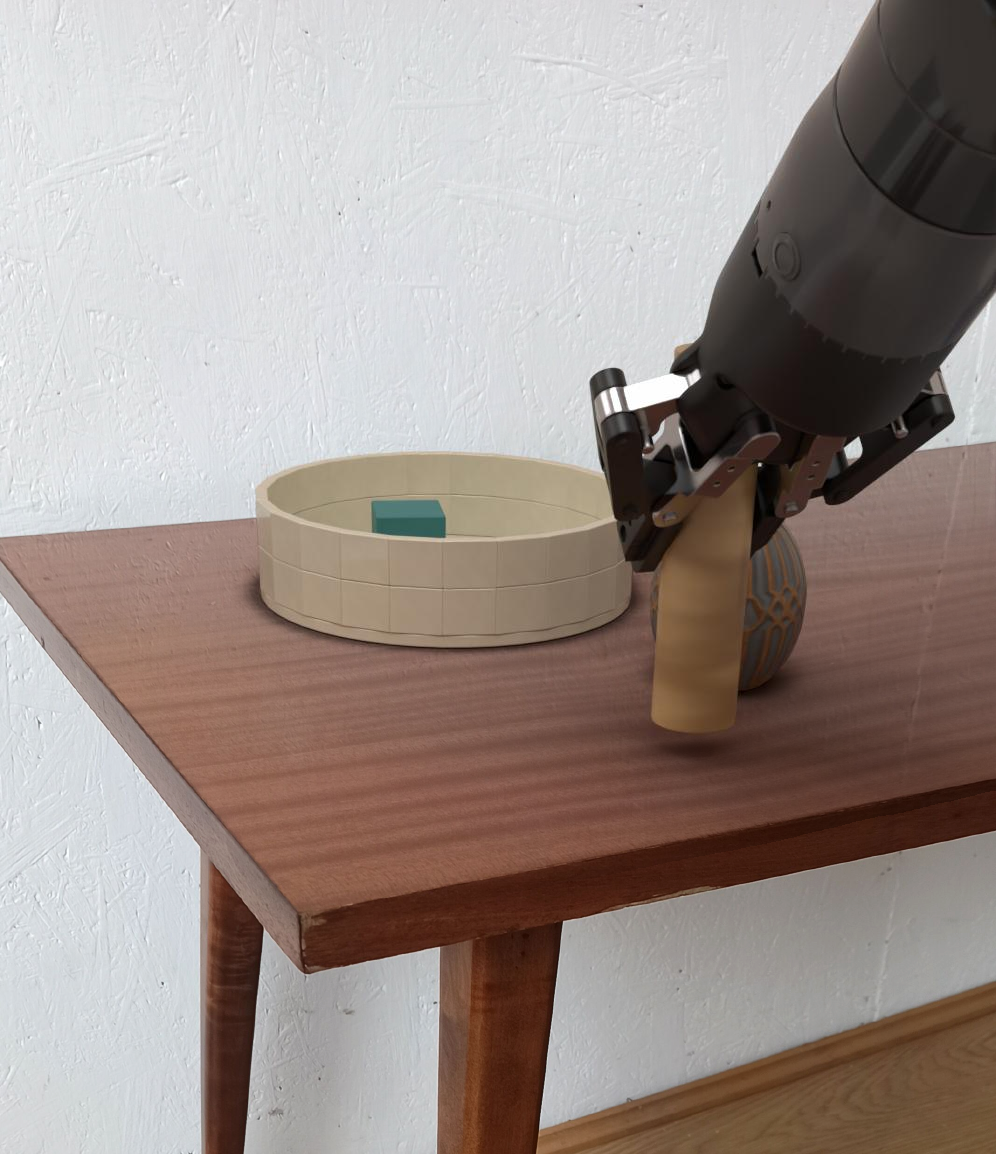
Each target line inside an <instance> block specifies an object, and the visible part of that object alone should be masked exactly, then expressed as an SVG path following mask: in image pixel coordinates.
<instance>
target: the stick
mask: <svg viewBox="0 0 996 1154" xmlns="http://www.w3.org/2000/svg"><path fill="white" fill-rule="evenodd" d="M693 343H694V342H689V343H683V344H680V345H677V346H676V347H675V348H674V351H673V361H674V360H675V359H676V357H677V356H678V355H679V354H680V353H681V352H682V351H684V350H685V349H686V348H688V347H689V346H690V345H691V344H693ZM758 466H759V463H757V464H752V465H750V466H749V467H748V468H747V469H746V470H745V471H744V472H743V473H742V474H741V475H740V476H739V478H738V479H737V480H736V481H735V482H734V483H733V484H732V485H731V486H730V487H729V488H728V489H727V490H726V491H725V492H724V493H723V494H722V495H721V496H720V497H719V498H718V499H704V498H703V499H702V500H701V501H700V502H699V503H698V504H697V505H696V506H695V507H694V508H693V509H692V510H691V511H690V513H689V514H688V515H687V516H686V517H685V518H684V519H683V520H682V522H683V526H682V528H681V529H680V531H679V533H678V534H677V536H676V537H675V539H674V541H673V542H672V544H671V545H670V547H669V548H668V549H667V551H666V552H665V554H664V556H663V558H662V560H661V569H660V584H659V600H658V616H657V632H656V644H655V649H654V664H653V680H652V693H651V694H652V696H651V712H650V713H651V714H650V718H651V720H652V722H653V723H654V724H656V725H657V726H658V727H661V728H663V729H666V730H669V731H673V732H677V733H683V734H696V735H699V734H700V735H701V734H702V735H703V734H711V733H712V734H714V733H719V732H723V731H725V730H728V729H730V728H731V727H732V726H734V724H735V723H736V716H737V704H738V694H739V691H738V684H739V673H740V661H741V650H742V639H743V628H744V617H745V606H746V595H747V584H748V573H749V562H750V551H751V540H752V529H753V518H754V507H755V496H756V485H757V474H758ZM675 471H676V475H677V469H676V467H675Z"/></svg>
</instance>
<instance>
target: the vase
mask: <svg viewBox="0 0 996 1154" xmlns="http://www.w3.org/2000/svg"><path fill="white" fill-rule="evenodd" d="M660 569H661V561H660V563H659V565H658V566H657V568H656V569H655V571H654V572H653V574H652V579H651V583H650V591H649V620H650V629H651V633H652V637H653V641H654V644H655V645H656V632H657V616H658V600H659V584H660ZM806 576H807V575H806V570H805V564H804V559H803V555H802V552H801V550H800V547H799V545H798V542H797V540H796V539H795V537H794V535H793V534H792V532H791V530H790V528H789V526H788V525H787V524H786V522H785V521H784V522H783V523H782V524H781V526H780V527H779V529H777V531H776V533H775V534H774V535H773V537H772V538H771V540H770V541H769V542H768V544H766V545H765V546H764V547H762V548H761V549H760V550H758V551H756V552H755V554H754V555H753V556H752V558H751V559H750V562H749V573H748V584H747V595H746V606H745V617H744V628H743V639H742V650H741V661H740V673H739V684H738V692H740V691H748V690H753V689H755V688H757V687H760V686H762V685H763V684H764V683H765V682H767V681H768V680H770V679H771V678H772V677H773V676H774V675H775V674H776V673H778V672H779V671H780V669H781V668H782V667H783V666H784V665H785V664H786V663H787V661H788V659H789V658H790V656H791V654H792V653H793V651H794V648H795V647H796V644H797V643H798V640H799V637H800V634H801V631H802V628H803V625H804V618H805V614H806V605H807V595H808V592H807V591H808V589H807V585H808V584H807V577H806Z"/></svg>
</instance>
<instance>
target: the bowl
mask: <svg viewBox="0 0 996 1154" xmlns="http://www.w3.org/2000/svg"><path fill="white" fill-rule="evenodd" d="M254 491H255V492H254V494H255V514H256V516H255V517H256V531H257V551H258V552H257V553H258V554H257V555H258V574H259V592H260V595H261V598H262V601H263V603H264V604H265V605H266V606H267V607H268V609H270V610H271V611H272V612H274V614H276V615H277V616H279V617H282V618H283V619H285V620H287V621H289V622H291V623H294V624H297V625H299V626H301V627H303V628H307V629H309V630H313V631H317V632H320V633H323V634H328V635H332V636H336V637H341V638H344V639H350V640H356V641H362V642H368V643H376V644H384V645H391V646H392V645H393V646H402V647H403V646H405V647H415V648H417V647H420V648H443V649H445V648H447V649H449V648H450V649H453V648H454V649H455V648H456V649H457V648H458V649H459V648H460V649H461V648H463V649H464V648H466V649H468V648H470V649H471V648H493V647H504V646H505V647H506V646H517V645H525V644H534V643H540V642H546V641H553V640H558V639H562V638H567V637H570V636H575V635H579V634H581V633H585V632H587V631H591V630H595V629H597V628H599V627H601V626H605V625H606V624H609V622H612V621H614V620H616V619H617V618H618V617H620V616H621V615H622V614H623V613H624V612H625V611H626V610H627V609H628V608H629V605H630V603H631V600H632V588H633V584H634V571H633V568H632V565H631V561H628V562H625V558H624V554H623V550H622V546H621V543H620V539H619V535H618V531H617V525H616V522H617V520H616V519H615V518H614V514H613V510H612V507H611V499H610V494H609V490H608V486H607V482H606V478H605V475H604V472H600V471H596V470H593V469H589V468H587V467H584V466H583V467H582V466H579V465H576V464H571V463H566V462H560V461H555V460H550V459H544V458H538V457H530V456H521V455H520V456H519V455H511V454H504V453H503V454H502V453H492V452H491V453H489V452H469V451H453V450H452V451H451V450H449V451H448V450H445V451H444V450H441V451H432V450H431V451H426V450H425V451H393V452H380V453H379V452H378V453H364V454H355V455H349V456H340V457H333V458H326V459H320V460H315V461H311V462H307V463H303V464H299V465H295V466H291V467H288V468H286V469H284V470H281V471H279V472H276V473H274V474H272V475H269V476H267V477H265V478H264V479H263V480H262V481H261V482H260V483H259V484H258V485H257V486H256V487H255V488H254ZM389 500H438V501H439V503H440V506H441V508H442V510H443V512H444V514H445V517H446V538H429V537H411V536H393V535H385V534H377V533H372V515H371V502H372V501H389Z"/></svg>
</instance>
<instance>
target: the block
mask: <svg viewBox="0 0 996 1154" xmlns="http://www.w3.org/2000/svg"><path fill="white" fill-rule="evenodd" d="M371 515H372V533H377V534H385V535H393V536H411V537H429V538H446V517H445V514H444V512H443V510H442V508H441V506H440V503H439V501H438V500H389V501H372V502H371Z"/></svg>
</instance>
